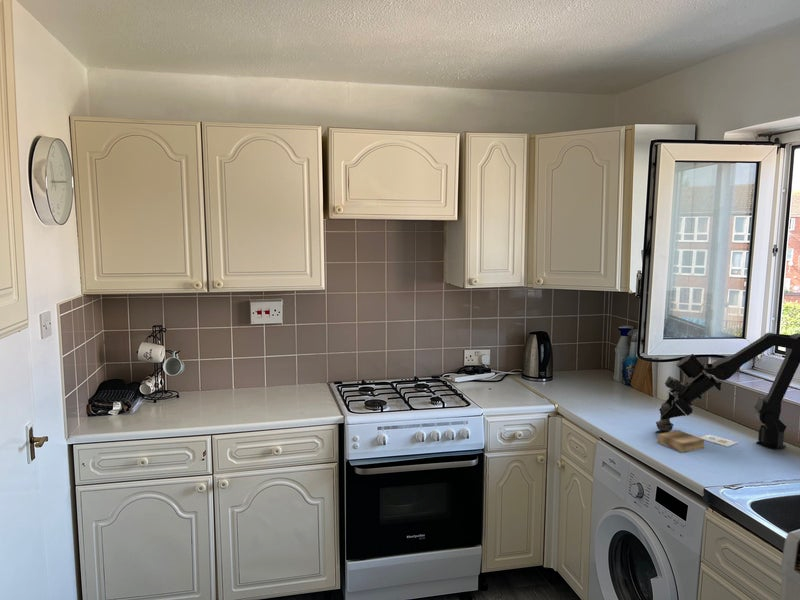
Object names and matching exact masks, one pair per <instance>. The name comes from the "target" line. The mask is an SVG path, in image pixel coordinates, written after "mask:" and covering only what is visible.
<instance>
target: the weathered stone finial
mask: <svg viewBox="0 0 800 600" xmlns="http://www.w3.org/2000/svg"><path fill="white" fill-rule="evenodd" d="M660 408H661V412H660V411H659V414H660V418H659V420H658V421H655V424H656V427H657V430H656V431H655V433H656V434H657V433H658V434H661V433H666V432H671V431H673V427H674V425H675V424H673V423H672V422H671V418H669V419H662V416H663V415H664V414H665V413H666V412H667V410H668V409H669V408H670V405H669V404H668V403H667V401H666V400H665V402H663V403H661V407H660ZM658 434H657V435H658Z"/></svg>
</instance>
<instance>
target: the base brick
mask: <svg viewBox="0 0 800 600" xmlns="http://www.w3.org/2000/svg"><path fill="white" fill-rule="evenodd" d="M658 442H659V443H658ZM657 443H658V444H660V443H661V445H663V444H664V445H663V446H665V445H666V447H668V446H669V447H668V448H670V447H671V449H673V448H674V449H673V450H675V449H676V451H678V450H679V452H680V451H681V452H680V453H686V452H685V451H687V452H691V451H690V450H692V451H696V450H695V449H697V450H700V449H701V448H702V449H704V448H705V440H704V439H702V438H699V436H697V435H693V434H691V433H687V432H684V431H682V430H678V429H677V430H671V431H669V432H666V433H661V434H657ZM702 449H701V450H702Z"/></svg>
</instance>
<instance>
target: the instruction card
mask: <svg viewBox="0 0 800 600" xmlns="http://www.w3.org/2000/svg"><path fill="white" fill-rule="evenodd" d="M698 437H699V436H698ZM699 438H702V439H704V442H705V441H706V442H708V441H709V443H713V444H716V445H718V444H719V445H718V446H723V447H725V448H729V447H733V446H735V445H737V444H739V442H738V441H734V440H730V439H726V438H723V437H721V436H716V435H713V434H706V435H703V436H700V437H699Z"/></svg>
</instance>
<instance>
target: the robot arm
mask: <svg viewBox="0 0 800 600" xmlns="http://www.w3.org/2000/svg"><path fill="white" fill-rule="evenodd" d="M773 347H779V348H784V349H785V351H784V352H785V353H784V359H783V361H782V363H781V365H780V368H779V369H778V371H777V374H776V376H775V378H774V380H773V382H772V384H771V387H770V388H769V391H768V392H767V395H766V396H765V397H763V398H761V397H760V396H758V398H757V401H756V404H755V405H754V406H753V408H754V414H755V417H756V418H757V419H758V420H759V421H760V423H761V425H760V426H759V427H760V428H759V429H758V435H757V436H758V437H757V440H758V441H756V442H755V444H757V445H761V446H762V447H766V448H769V449H772V450H777V449H782V448H786V447H787V445H786V444H784V442H785V441H784V440H785V431H786V429H787V426H786V425H785V423H783V422H782V421H781V420H780V416H781V412H782V401H783V400H784V397H785V395H786V393H787V391H788V389H789V387H790V385H791V383H792V380H793V378H794V376H795V374H796V372H797V369H798V368H799V366H800V333H799V332H798V333H793V334H782V333H773V332H767V333H765V334H764V335H762V336H761V337H760V338H758V339H756V340H754V341H753V342H752V343H750V344H748V345H747V346H744V348H742V349H740V350H739V351H737V352H736V353H734V354H731V355H730V356H726V357H722V358H720V359H718V360H716V361H714V362H712V363H701V361H700V360H699V359H698V358H697V357H696V355H695V354H694V353H692V354H690V355H688V356H686V357H683V358H682V359H680V360H679V361H678V362H677V364H676V367H677V368H678V369H679V370H680V371H681V372H682V373H683V374H684V375H685V376H686V377H687V378H688V379H690V378H692V380H691V381H690V382H689V381H685V383H684V382H681V380H678V379H676V378H674V377H672V376H670V375H669V376H668V377H667V378H666V380H665V382H664V386H665V387H667V388H669V391H668V398H667V399H665V401H667V403H668V404H669V405H670V408H669V409H668V410H667V412H666V413H665V414H664V415H663V416H662V419H669V418H670V419H674V418H677V417H678V418H679V417H686V416H690V415H691V414H692V413H693V407H692V406H693V403H694V402H695V401H697V400H701V399H702V398H703V395H705V394H707V393H708V392H709V391H710V390H711V389H712V390H713V388H714V387H715V388H716V390H718V391H722V390H721V389H722V382H721V381H727V380H729V379H730V378H732V376H734V375H735V374H736V373H737V372H738V370H739V369H740V368H741V367H742V366H743V365H745V364H747V363H748V362H749V361H751V360H753V359H754V358H756V357H758V356H760V355H761V354H763V353H764V352H766V351H768V350H769V349H771V348H773ZM713 376H714V377H715V378H716V379H715V378H714V377H713ZM717 379H718V380H717ZM658 410H659V413H660V412H661V407H660V408H659V409H658Z"/></svg>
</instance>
